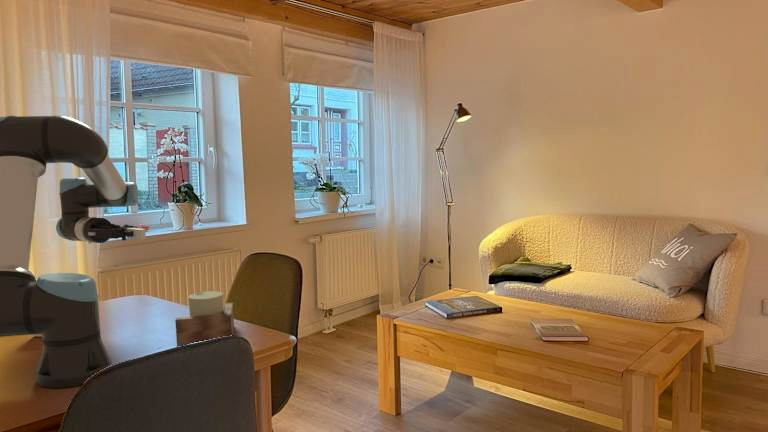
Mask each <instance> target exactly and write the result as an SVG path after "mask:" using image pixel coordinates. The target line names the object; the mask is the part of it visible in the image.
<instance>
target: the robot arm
mask: <svg viewBox="0 0 768 432" xmlns="http://www.w3.org/2000/svg"><path fill="white" fill-rule="evenodd" d="M108 153H109V148H108V145H107V143H106V141H105V140H104V139H103V138H102V136H101V135H100V134H99V133H98V132H97V131H95V130H94V129H93V128H91V127H90V126H88V125H87V124H85V123H84V122H82V121H79V120H77V119H75V118H72V117H68V116H64V115H30V116H29V115H28V116H27V115H21V116H17V115H7V116H0V338H5V337H14V336H15V337H18V336H29V335H30V336H31V335H33V334H42V337H41V338H42V351H41V355H40V359H39V361H38V366H37V370H36V374H35V375H36V383H37V385H38V386H40V387H42V388H48V389H63V388H65V389H66V388H72V387H77V386H83V385H84V384H83V383H84V382H85V381H86V380H87V379H88V378H90V377H91V376H92V375H94V374H95V373H97V372H99V371H100V370H102V369H104V368H106V367H108V366H110V365H111V366H112V360H111V358H110V356H109V353H108V351H107V348H106V347H105V345H104V342H103V340H102V335H101V323H100V310H99V309H100V308H99V299H100V296H99V294H98V289H97V288H98V287H97V282H96V280H95V278H93V277H91V276H89V275H86V274H82V273H75V272H57V273H56V272H55V273H44V274H41V275H39V276H38V278H37V279H36V275H35V274H34V273H32V272H31V270H30V269H29V267H30V262H31V261H30V260H31V259H30V258H31V252H32V251H31V250H32V240H33V231H34V230H33V229H34V220H35V219H34V218H35V210H36V201H37V193H38V192H37V190H38V182H39V181H38V180H39V178H40V177H41V176H44V175H45V173H47V172H46V171H47V165H48V164H59V163H67V164H69V163H70V164H73V165H74V166H75V167H76V168H79V169H81V170H82V171H83V172H84V173H85V175H86V176H87V178H88V179H89V180H90V181H91V182H89V183H88V182H87V181H88V180H87V179H86V178H85V177H64V178H61V179H60V181H59V193H58V195H59V199H60V209H61V214H60V215H61V217H60V218H59V219H58V220H57V223H56V225H55V230H56V233H57V234H58V236H59V237H61V238H62V239H65V240H69V241H74V242H75V241H76V242H88V244H89V245H91V244H93V243H95V244H96V243H97V244H103V243H106V242H107V241H109V240H110V239H116V240H117V239H120V238H121V241H126V240H127V239H136V240H143V239H144V240H145V239H147V238H146V237H147V235H146V228H140V227H137V226H134V225H133V224H132V225H129V224H124V225H122V226H121V225H120V224H115V223H111V221H110V220H108V219H107V218H104V217H93V216H90V214H89V213H90V209H92V208H120V207H122V208H126V207H134V206H137V205H138V202H139V188H138V184H136V183H135V182H133V181H132V182H131V181H130V182H129V181H125V180H124V179H123V177H122V175H121V174H120V172H119V171H118V169H117V168H116V166H115V164H114V162H113V161H112V159H111V157H110V156H109V154H108ZM82 384H83V385H82Z"/></svg>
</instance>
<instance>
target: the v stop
mask: <svg viewBox="0 0 768 432" xmlns="http://www.w3.org/2000/svg"><path fill="white" fill-rule="evenodd" d="M223 310H224V314H217V315H205V316H192V317H190V316H182V317H181V316H179V317H176V318H175V333H176V334H175V336H176V337H175V338H176V347H178V346H180V345H181V346H186V345H185V344H190V343H194V342H199V341H204V340H209V339H213V338H218V337H223V336H230V335H233V336H234V329H235V323H234V322H235V319H234V304H233V302H226V303H225V305H224V308H223Z"/></svg>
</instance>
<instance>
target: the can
mask: <svg viewBox="0 0 768 432" xmlns="http://www.w3.org/2000/svg"><path fill="white" fill-rule="evenodd" d="M188 305H189V306H188V307H189V308H188V309H189V317H192V316H205V315H217V314H224V293H223V292H221V291H215V290H208V291H207V290H206V291H199V292H195V293H192V294H190V295H188Z"/></svg>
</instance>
